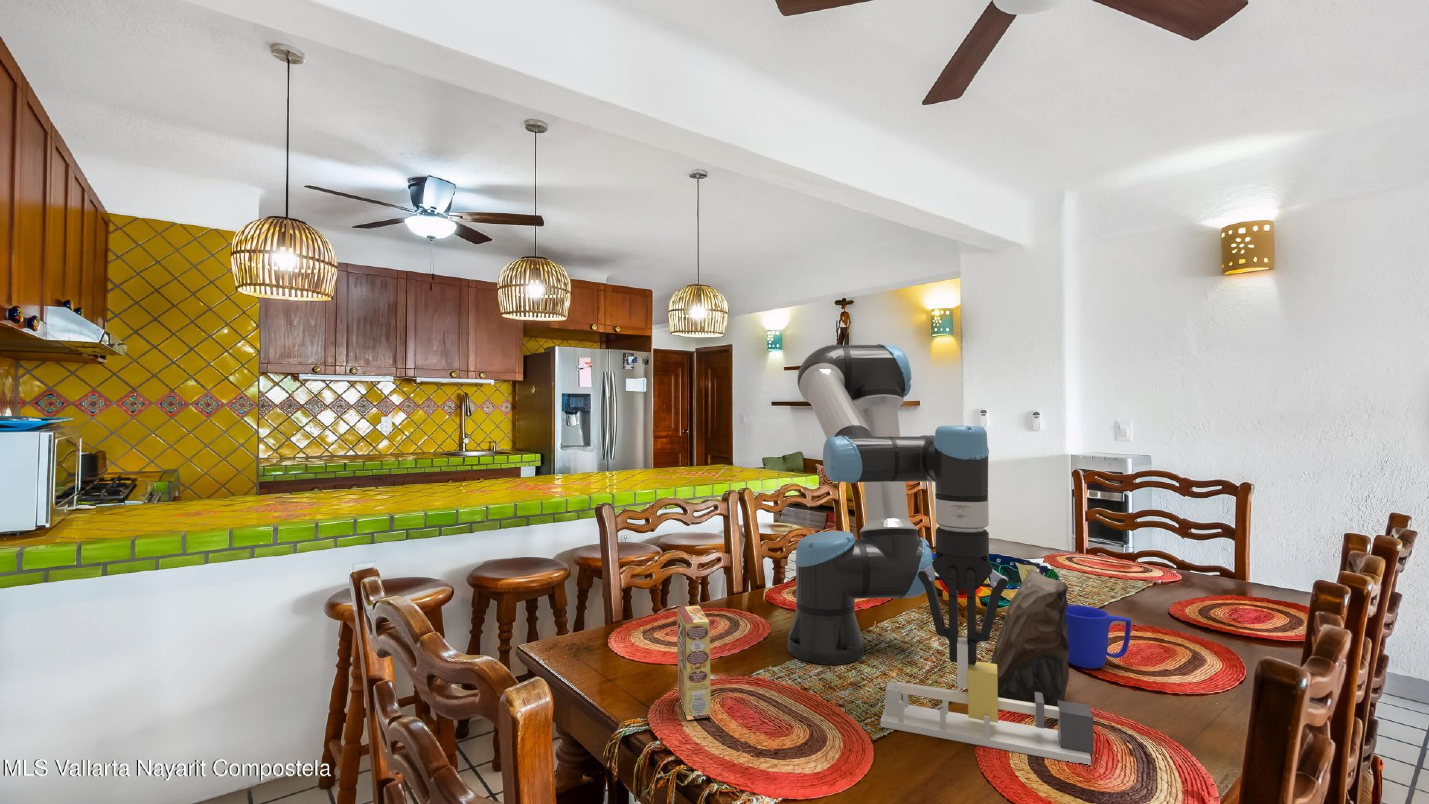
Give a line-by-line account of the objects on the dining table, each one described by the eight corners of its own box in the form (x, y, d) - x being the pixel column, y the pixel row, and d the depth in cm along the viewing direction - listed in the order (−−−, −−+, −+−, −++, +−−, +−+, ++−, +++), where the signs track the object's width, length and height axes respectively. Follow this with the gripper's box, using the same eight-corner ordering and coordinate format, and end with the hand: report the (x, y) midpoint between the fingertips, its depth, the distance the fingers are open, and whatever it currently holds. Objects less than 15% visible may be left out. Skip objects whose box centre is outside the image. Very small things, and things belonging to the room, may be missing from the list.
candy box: (712, 719, 101) (711, 621, 101) (685, 722, 100) (685, 623, 100) (700, 695, 109) (700, 604, 109) (675, 697, 108) (675, 606, 108)
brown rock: (1022, 674, 117) (1021, 565, 118) (1095, 700, 107) (1094, 579, 107) (982, 692, 110) (981, 575, 110) (1056, 721, 100) (1055, 592, 100)
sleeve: (968, 717, 95) (967, 670, 95) (968, 706, 98) (968, 660, 98) (997, 722, 93) (997, 674, 93) (997, 710, 97) (997, 664, 97)
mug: (1140, 675, 117) (1140, 620, 117) (1068, 670, 119) (1067, 616, 119) (1121, 658, 125) (1121, 607, 125) (1054, 654, 127) (1053, 603, 127)
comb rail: (880, 726, 98) (880, 681, 98) (887, 707, 105) (886, 665, 105) (1095, 766, 87) (1094, 716, 87) (1087, 742, 93) (1087, 695, 93)
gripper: (914, 528, 96) (915, 687, 96) (1009, 534, 91) (1011, 702, 91) (919, 520, 103) (920, 668, 103) (1008, 526, 98) (1010, 682, 97)
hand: (963, 684), depth 97 cm, fingers closed
